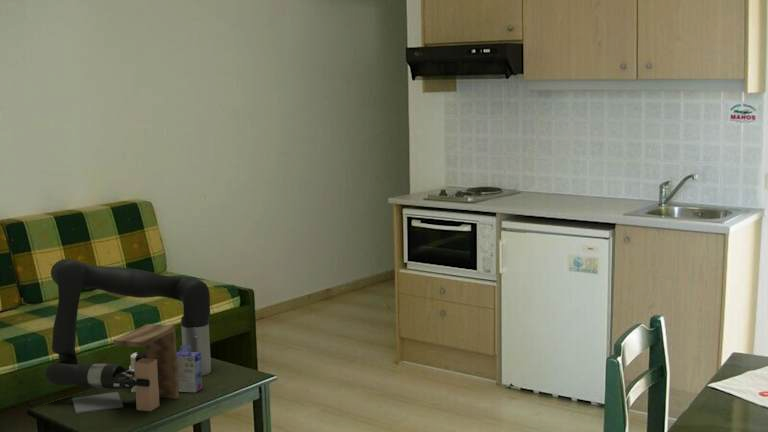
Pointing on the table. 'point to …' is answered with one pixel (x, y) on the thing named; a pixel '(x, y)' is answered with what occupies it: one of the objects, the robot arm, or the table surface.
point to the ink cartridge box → (189, 370)
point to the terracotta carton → (147, 395)
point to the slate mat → (97, 402)
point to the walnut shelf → (157, 353)
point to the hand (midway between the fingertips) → (154, 380)
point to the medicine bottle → (134, 358)
